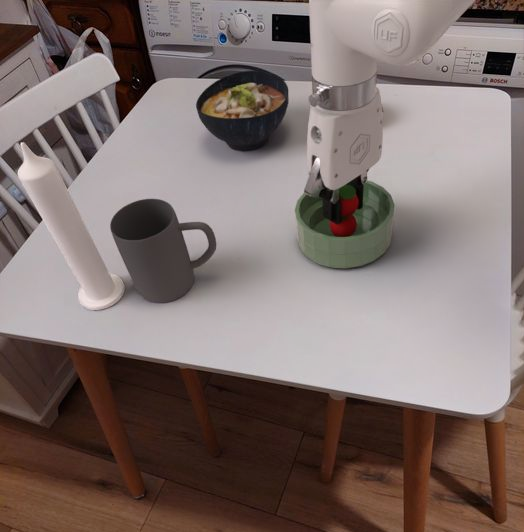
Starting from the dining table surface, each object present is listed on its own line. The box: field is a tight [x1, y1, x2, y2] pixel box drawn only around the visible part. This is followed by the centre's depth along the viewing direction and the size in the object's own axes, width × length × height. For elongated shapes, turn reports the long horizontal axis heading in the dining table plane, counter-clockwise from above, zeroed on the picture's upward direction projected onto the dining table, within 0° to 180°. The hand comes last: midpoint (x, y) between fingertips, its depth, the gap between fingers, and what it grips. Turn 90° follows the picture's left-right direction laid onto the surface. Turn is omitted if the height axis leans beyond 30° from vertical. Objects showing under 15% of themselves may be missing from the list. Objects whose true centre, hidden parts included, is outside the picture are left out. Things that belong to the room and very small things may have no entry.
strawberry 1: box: [338, 185, 359, 217], centre depth 74 cm, size 4×4×4 cm
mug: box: [109, 198, 217, 304], centre depth 73 cm, size 14×9×12 cm
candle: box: [17, 142, 126, 311], centre depth 68 cm, size 7×7×25 cm
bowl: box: [195, 70, 290, 152], centre depth 96 cm, size 17×17×10 cm
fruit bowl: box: [294, 179, 396, 269], centre depth 77 cm, size 14×14×6 cm
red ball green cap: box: [330, 215, 357, 237], centre depth 77 cm, size 4×4×4 cm
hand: (342, 211), depth 75 cm, fingers closed on strawberry 1, 3 cm apart
